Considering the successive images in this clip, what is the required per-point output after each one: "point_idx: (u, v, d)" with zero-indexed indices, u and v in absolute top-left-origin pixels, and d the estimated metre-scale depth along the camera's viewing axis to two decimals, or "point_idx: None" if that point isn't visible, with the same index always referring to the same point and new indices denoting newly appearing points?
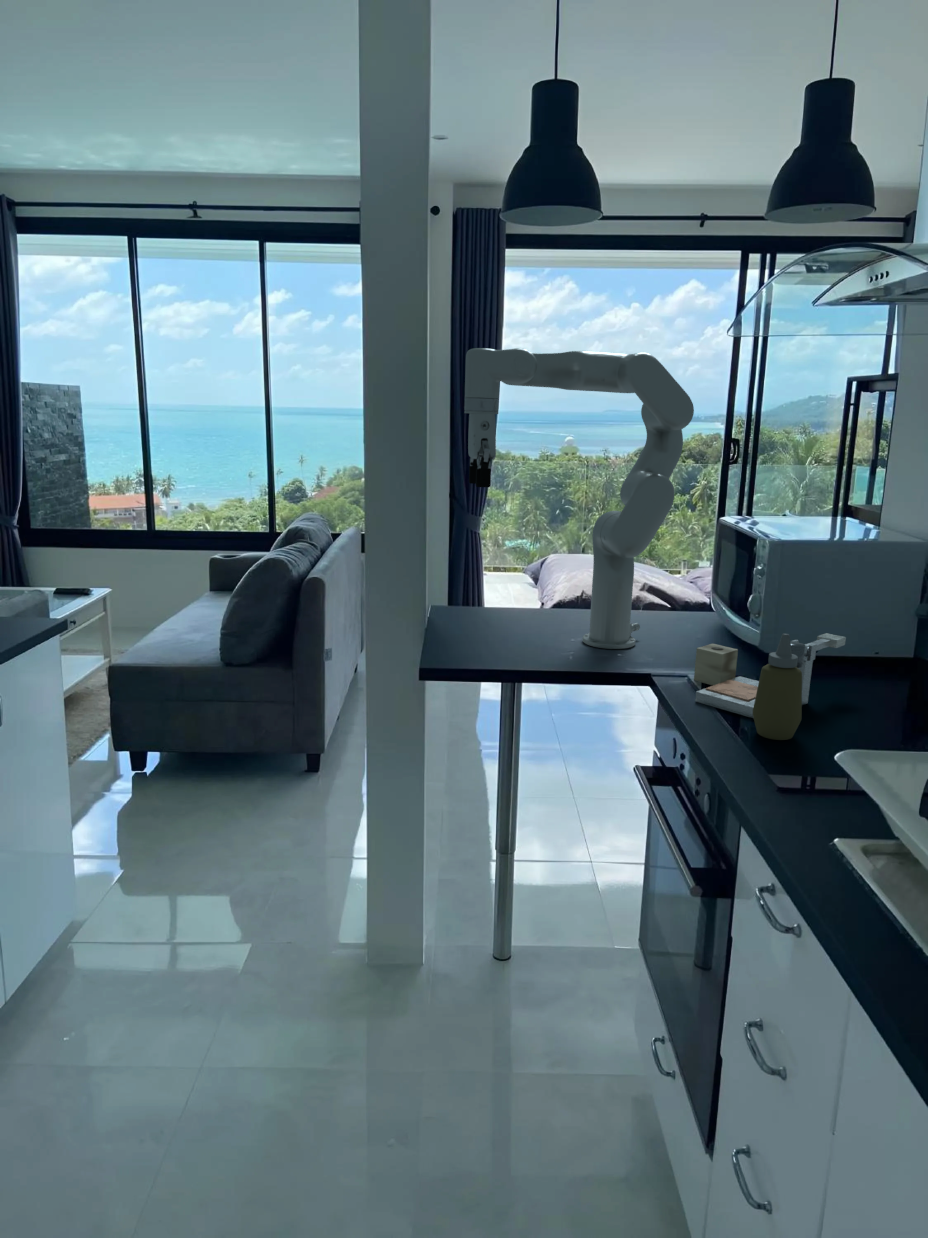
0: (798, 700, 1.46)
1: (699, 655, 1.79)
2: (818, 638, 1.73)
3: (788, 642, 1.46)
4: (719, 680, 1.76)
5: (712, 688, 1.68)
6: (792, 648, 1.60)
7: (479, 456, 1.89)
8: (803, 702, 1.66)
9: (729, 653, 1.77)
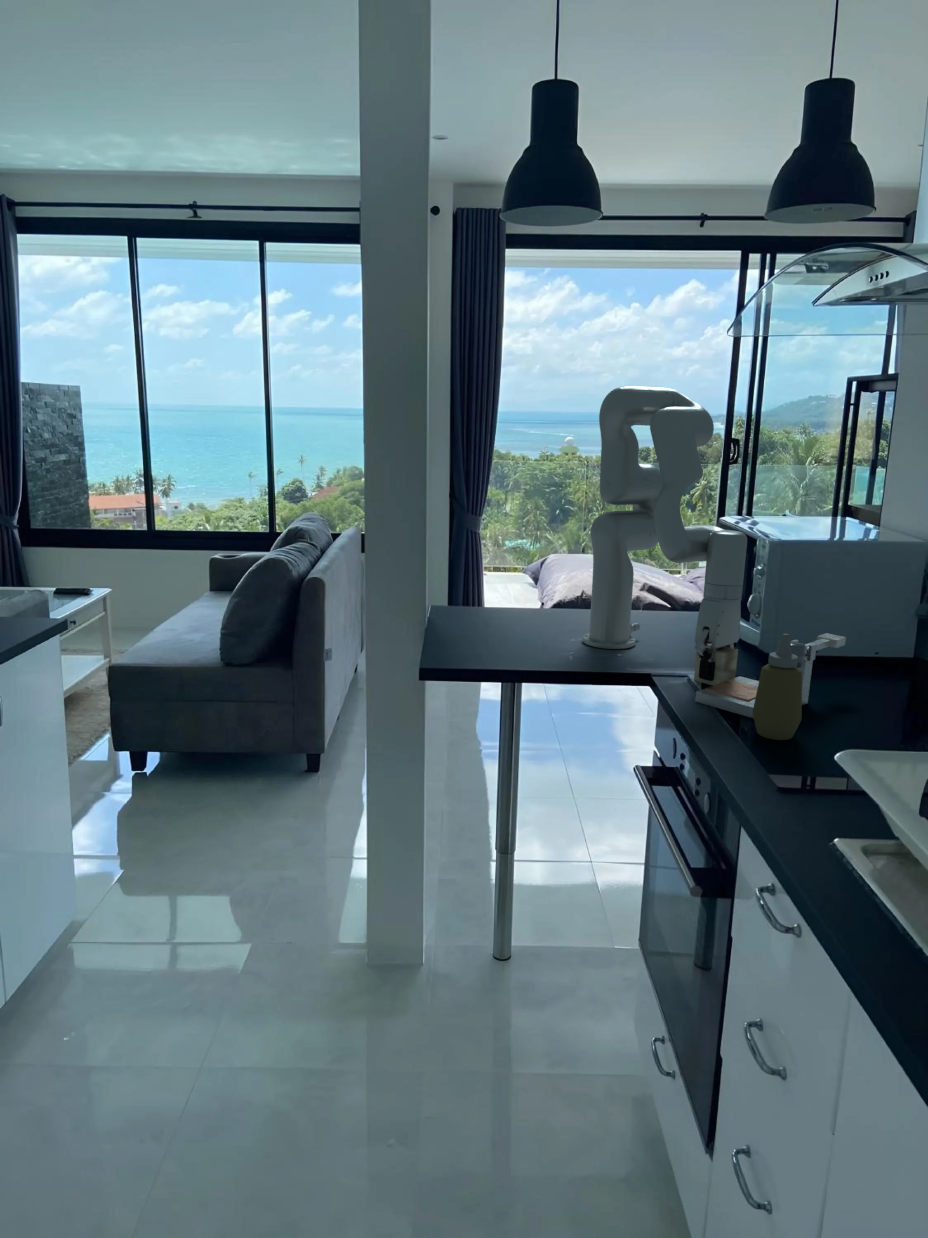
0: (798, 700, 1.46)
1: None
2: (818, 638, 1.73)
3: (788, 642, 1.46)
4: (719, 680, 1.76)
5: (712, 688, 1.68)
6: (792, 648, 1.60)
7: None
8: (803, 702, 1.66)
9: (729, 653, 1.77)
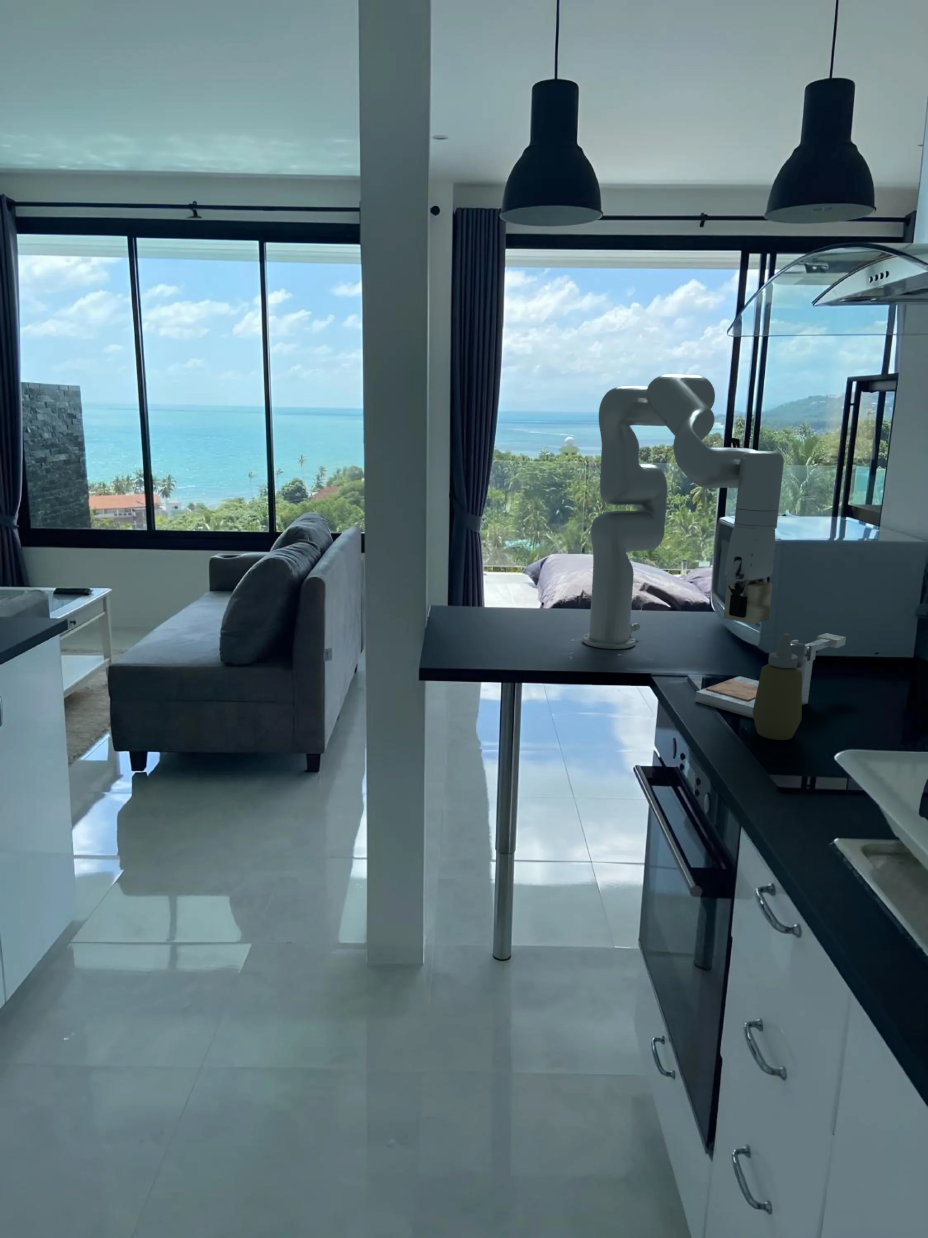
0: (798, 700, 1.46)
1: None
2: (818, 638, 1.73)
3: (788, 642, 1.46)
4: (752, 616, 1.60)
5: (712, 688, 1.68)
6: (792, 648, 1.60)
7: None
8: (803, 702, 1.66)
9: (763, 586, 1.61)
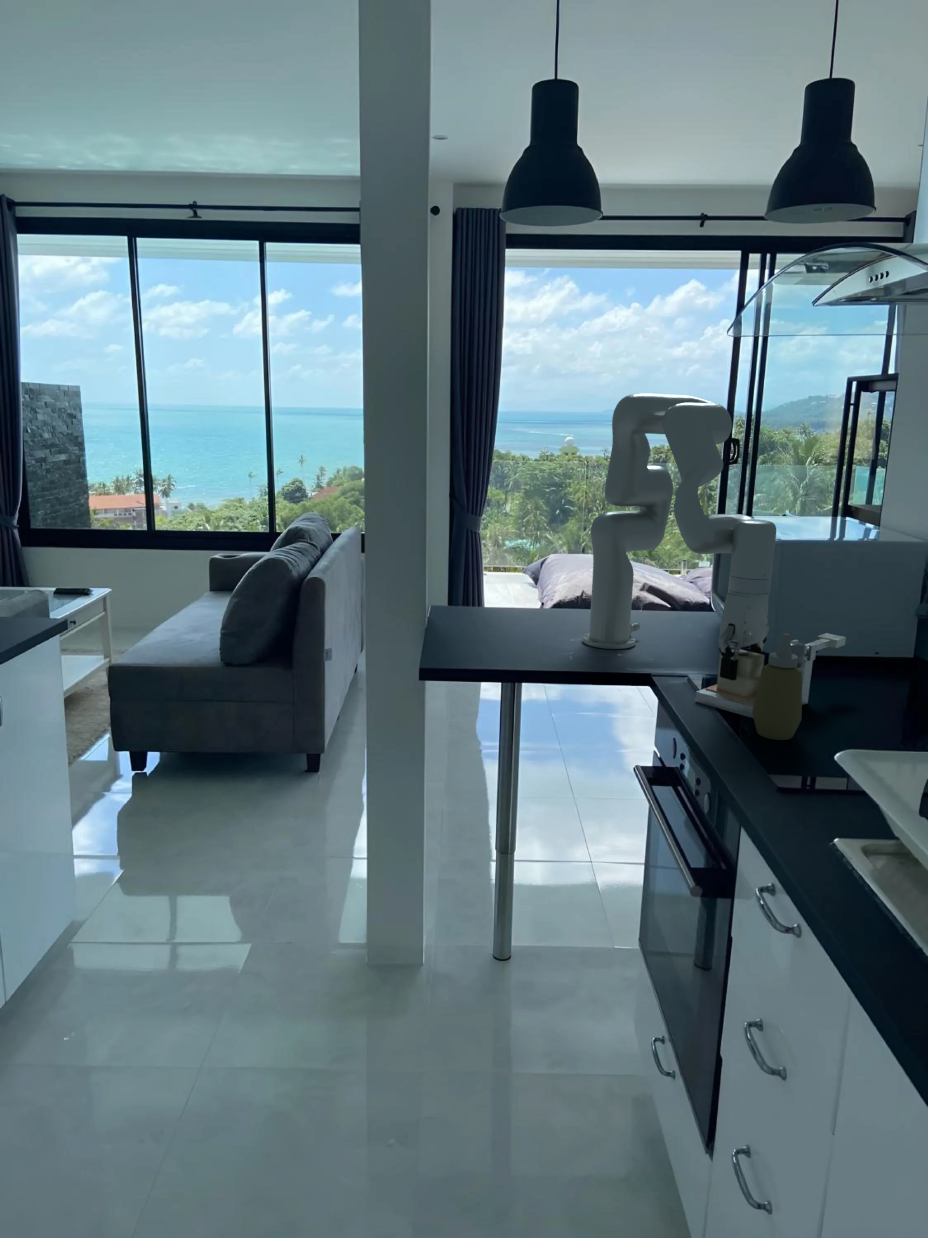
0: (798, 700, 1.46)
1: None
2: (818, 638, 1.73)
3: (788, 642, 1.46)
4: (744, 688, 1.63)
5: (712, 688, 1.68)
6: (792, 648, 1.60)
7: None
8: (803, 702, 1.66)
9: (755, 659, 1.64)
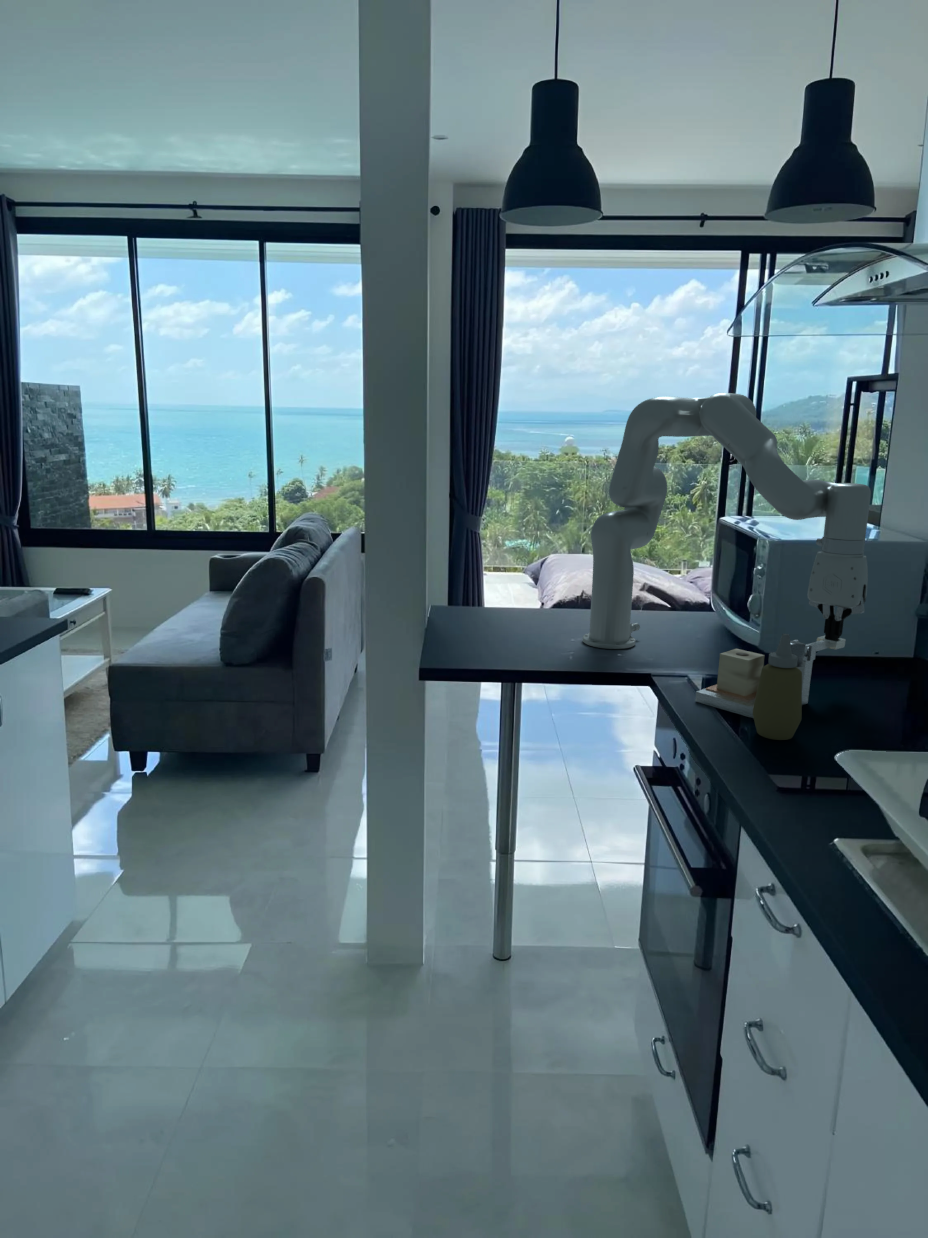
0: (798, 700, 1.46)
1: (722, 661, 1.66)
2: (818, 639, 1.73)
3: (788, 642, 1.46)
4: (744, 688, 1.63)
5: (712, 688, 1.68)
6: (792, 647, 1.60)
7: None
8: (803, 702, 1.66)
9: (755, 659, 1.64)
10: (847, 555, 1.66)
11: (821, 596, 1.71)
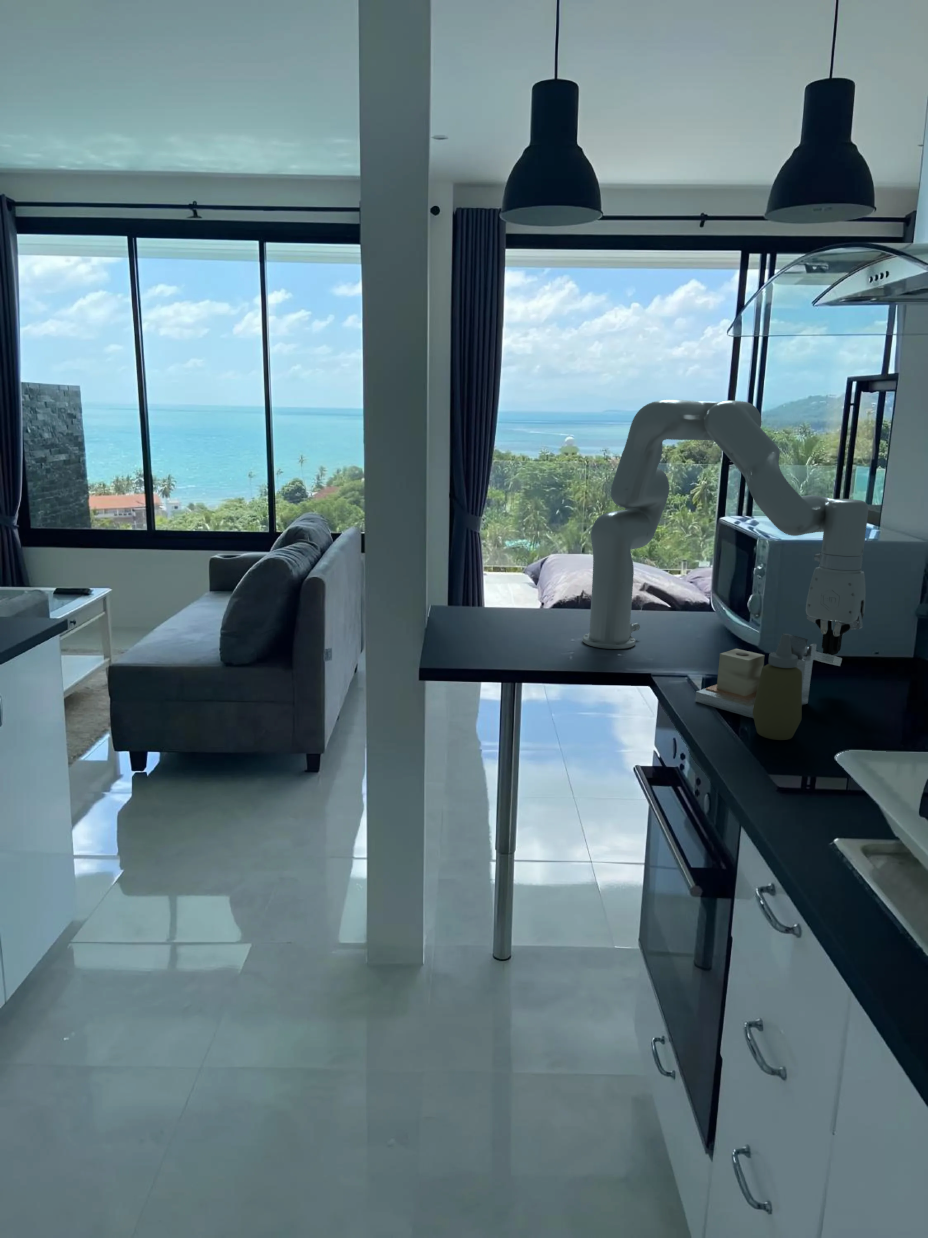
0: (798, 700, 1.46)
1: (722, 661, 1.66)
2: None
3: (788, 642, 1.46)
4: (744, 688, 1.63)
5: (712, 688, 1.68)
6: (795, 637, 1.60)
7: None
8: (803, 702, 1.66)
9: (755, 659, 1.64)
10: (845, 571, 1.66)
11: (819, 612, 1.71)
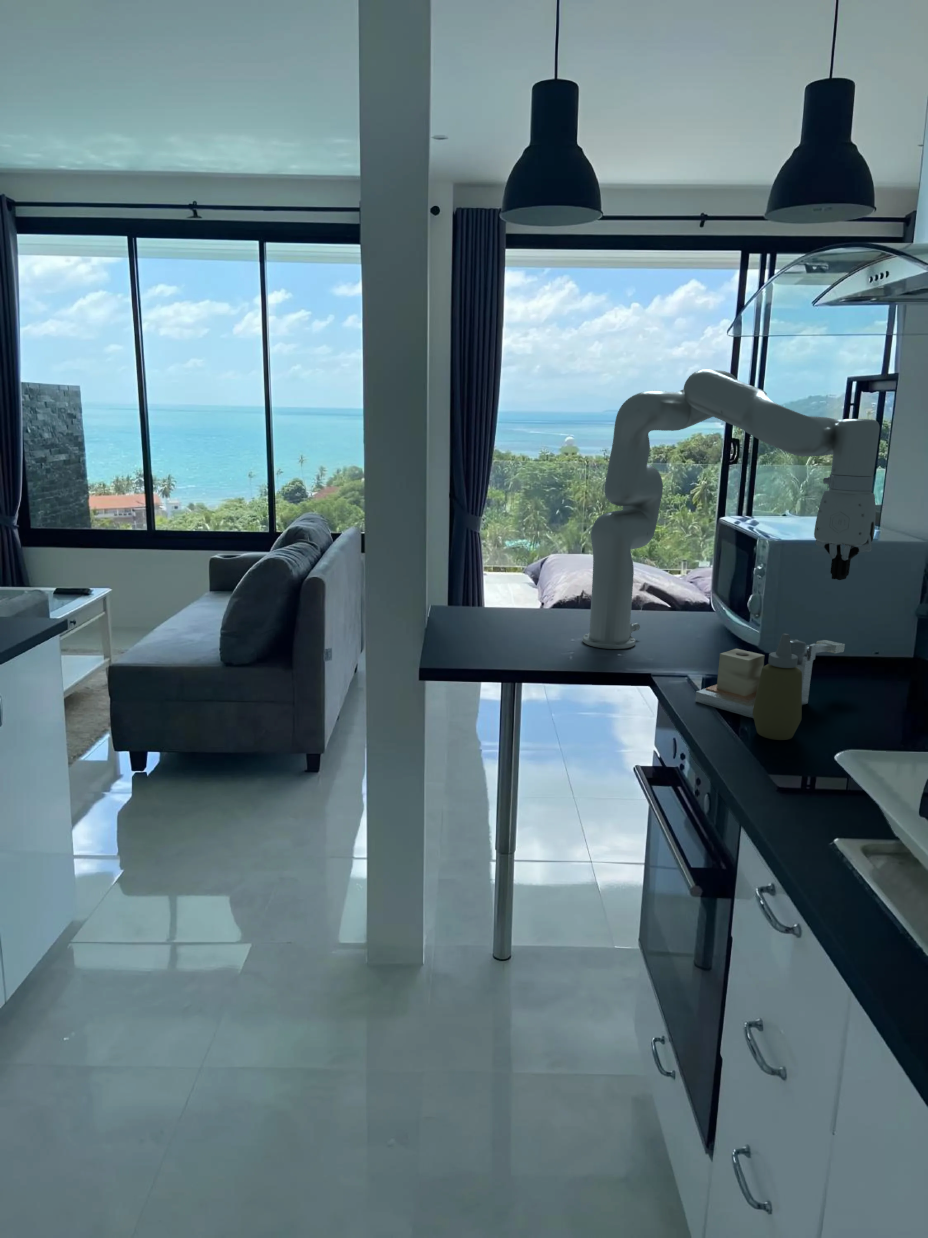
0: (798, 700, 1.46)
1: (722, 661, 1.66)
2: (817, 643, 1.73)
3: (788, 642, 1.46)
4: (744, 688, 1.63)
5: (712, 688, 1.68)
6: (793, 644, 1.60)
7: None
8: (803, 702, 1.66)
9: (755, 659, 1.64)
10: (855, 491, 1.63)
11: (828, 535, 1.68)
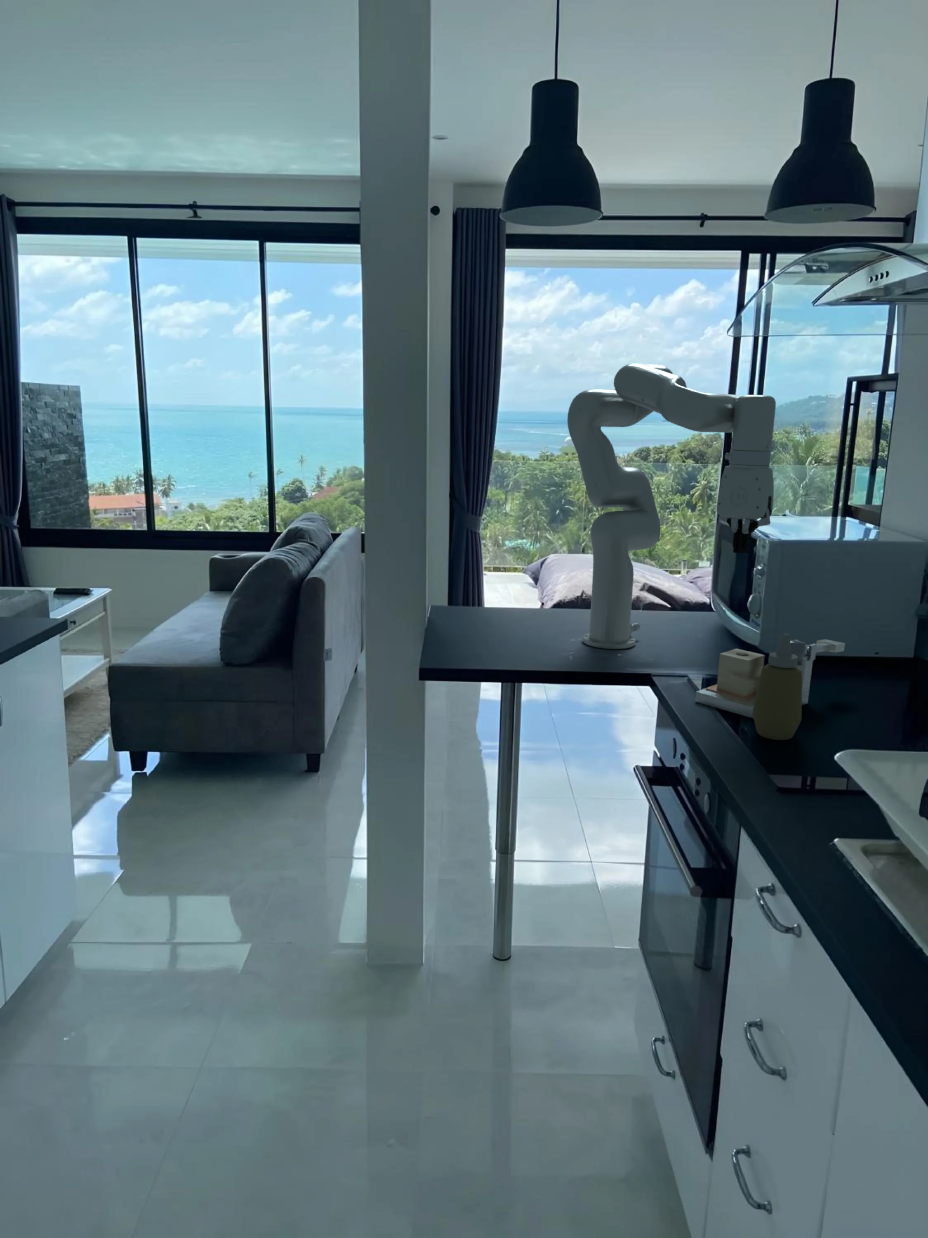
0: (798, 700, 1.46)
1: (722, 661, 1.66)
2: (817, 642, 1.73)
3: (788, 642, 1.46)
4: (744, 688, 1.63)
5: (712, 688, 1.68)
6: (793, 645, 1.60)
7: None
8: (803, 702, 1.66)
9: (755, 659, 1.64)
10: (752, 466, 1.67)
11: (729, 510, 1.72)
